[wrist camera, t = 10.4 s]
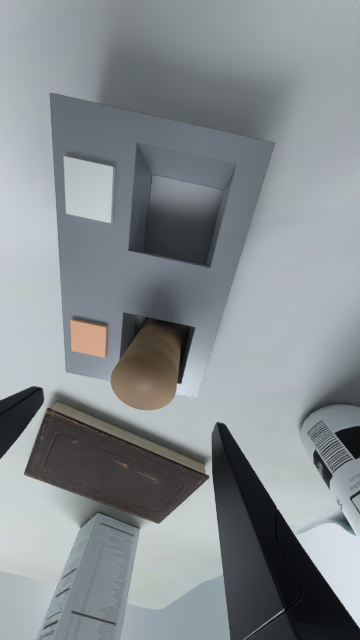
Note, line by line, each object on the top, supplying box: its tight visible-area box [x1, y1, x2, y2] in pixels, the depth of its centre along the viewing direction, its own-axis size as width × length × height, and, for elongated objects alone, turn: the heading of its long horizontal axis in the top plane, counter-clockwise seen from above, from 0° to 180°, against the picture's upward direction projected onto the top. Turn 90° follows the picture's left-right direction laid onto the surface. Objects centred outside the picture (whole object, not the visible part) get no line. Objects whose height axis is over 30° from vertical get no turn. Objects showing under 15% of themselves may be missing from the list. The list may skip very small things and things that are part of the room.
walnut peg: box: [111, 318, 183, 410], centre depth 14 cm, size 4×4×8 cm
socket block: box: [50, 93, 275, 398], centre depth 14 cm, size 12×18×4 cm, turn 169°
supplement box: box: [36, 513, 140, 640], centre depth 26 cm, size 10×9×17 cm
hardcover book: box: [24, 402, 209, 524], centre depth 26 cm, size 16×23×2 cm
